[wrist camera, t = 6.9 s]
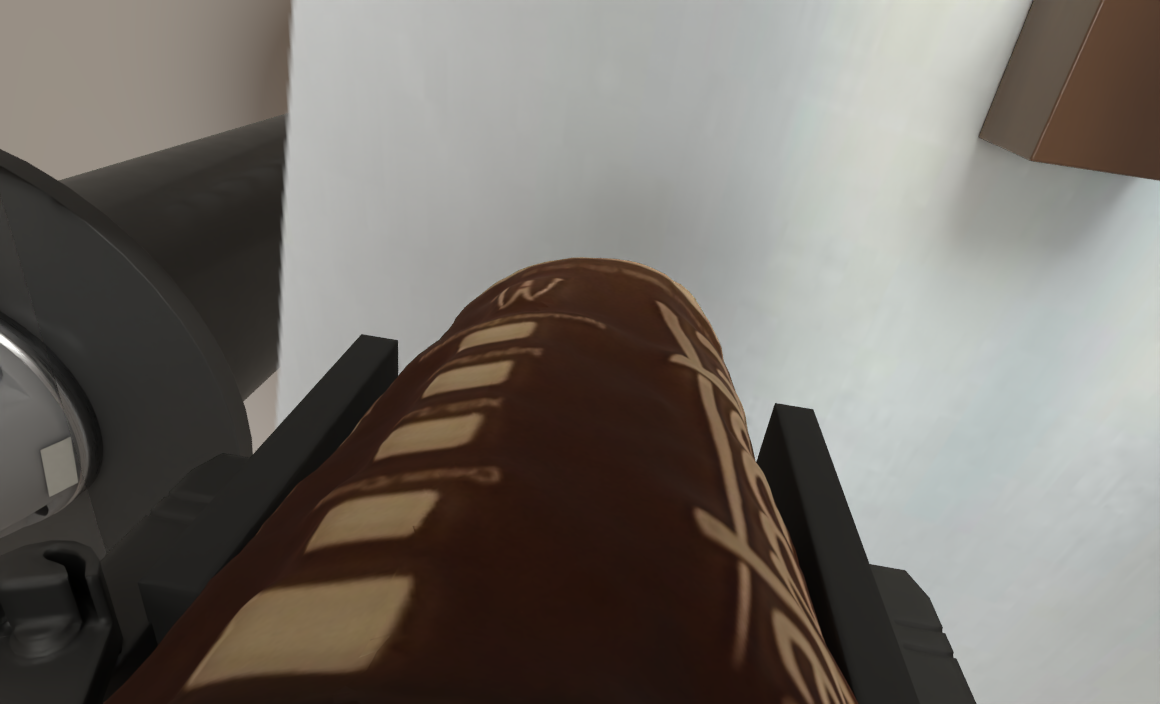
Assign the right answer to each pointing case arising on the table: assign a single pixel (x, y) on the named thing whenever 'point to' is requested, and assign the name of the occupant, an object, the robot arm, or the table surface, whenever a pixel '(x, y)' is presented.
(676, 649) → the coffee cup
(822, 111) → the table surface
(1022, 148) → the brown rectangular block
